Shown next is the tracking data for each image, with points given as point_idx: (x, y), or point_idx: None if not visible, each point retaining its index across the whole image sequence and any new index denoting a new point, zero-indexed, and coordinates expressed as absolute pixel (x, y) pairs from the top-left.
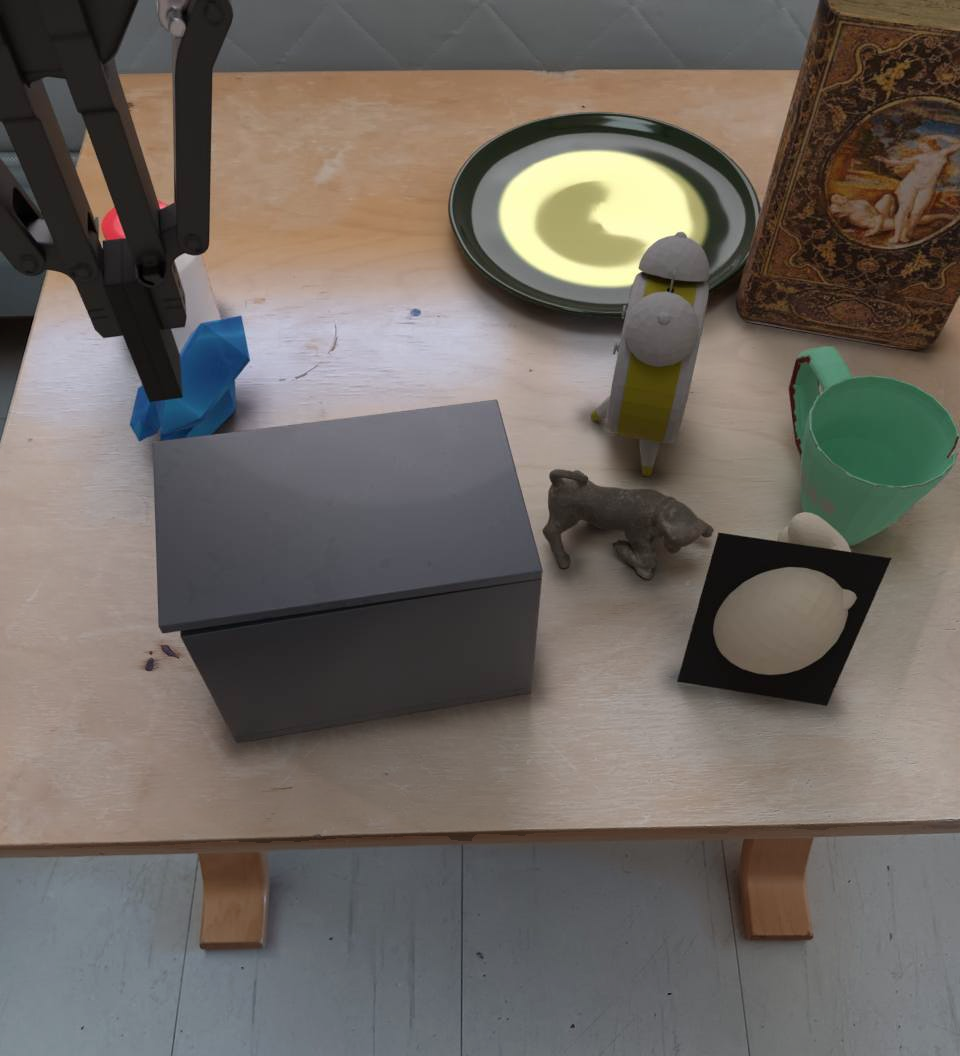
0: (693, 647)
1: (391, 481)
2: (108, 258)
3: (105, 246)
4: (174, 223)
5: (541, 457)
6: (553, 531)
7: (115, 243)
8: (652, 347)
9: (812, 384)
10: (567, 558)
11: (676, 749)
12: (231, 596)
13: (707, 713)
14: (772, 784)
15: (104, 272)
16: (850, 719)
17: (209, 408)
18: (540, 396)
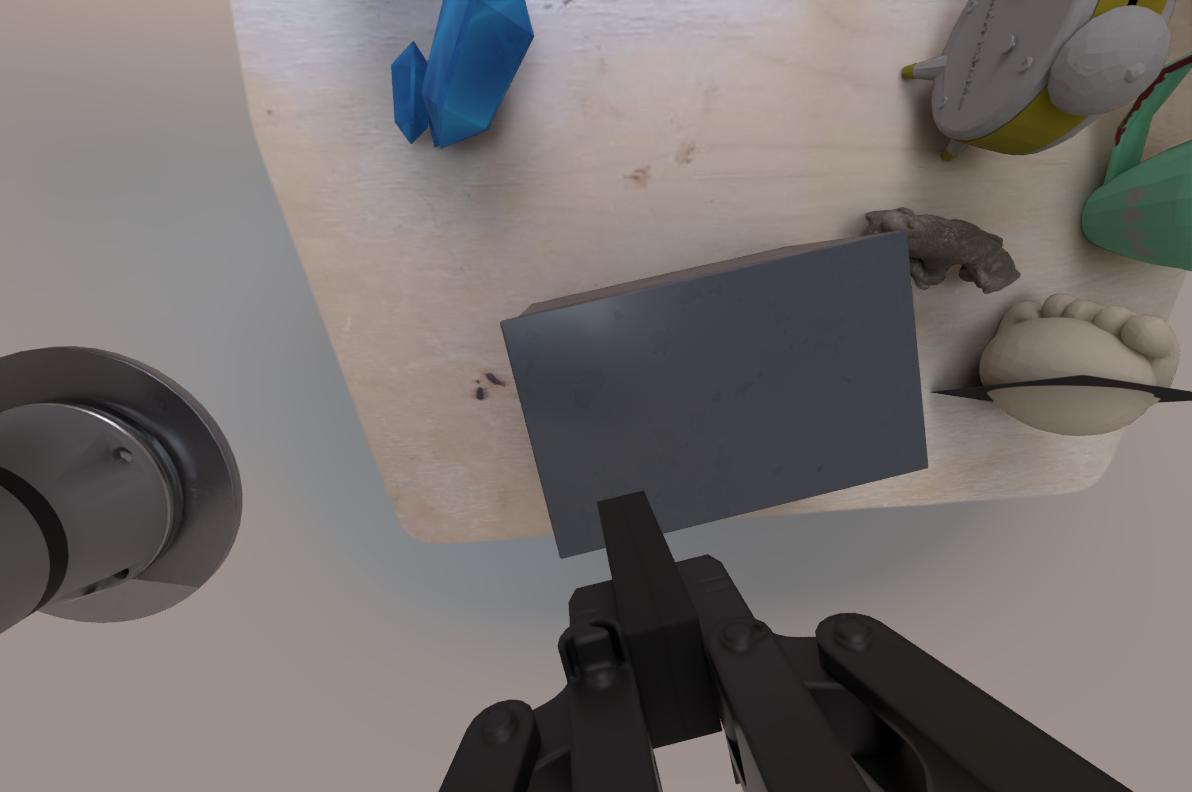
0: (966, 389)
1: (781, 364)
2: (647, 683)
3: (632, 649)
4: (844, 744)
5: (841, 132)
6: None
7: (651, 638)
8: (1090, 105)
9: (1186, 70)
10: None
11: None
12: None
13: (947, 419)
14: (981, 475)
15: (647, 718)
16: None
17: (493, 114)
18: (848, 35)
